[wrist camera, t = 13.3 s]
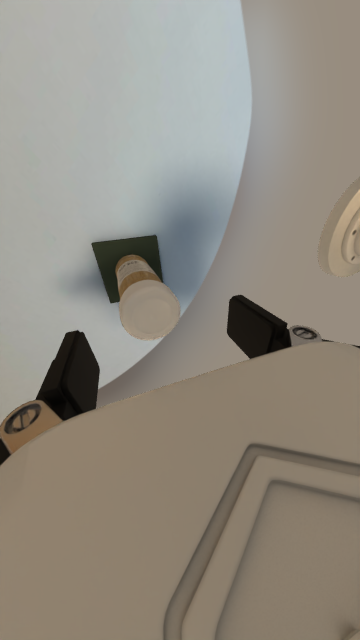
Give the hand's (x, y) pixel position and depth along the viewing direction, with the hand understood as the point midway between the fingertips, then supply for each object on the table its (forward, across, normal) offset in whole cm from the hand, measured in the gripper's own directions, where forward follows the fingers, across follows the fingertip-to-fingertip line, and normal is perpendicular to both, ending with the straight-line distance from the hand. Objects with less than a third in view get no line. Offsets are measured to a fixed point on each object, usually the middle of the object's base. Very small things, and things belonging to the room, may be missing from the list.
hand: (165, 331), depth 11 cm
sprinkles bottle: (+16, +1, 0) cm, 16 cm away
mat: (+16, +1, 0) cm, 16 cm away
